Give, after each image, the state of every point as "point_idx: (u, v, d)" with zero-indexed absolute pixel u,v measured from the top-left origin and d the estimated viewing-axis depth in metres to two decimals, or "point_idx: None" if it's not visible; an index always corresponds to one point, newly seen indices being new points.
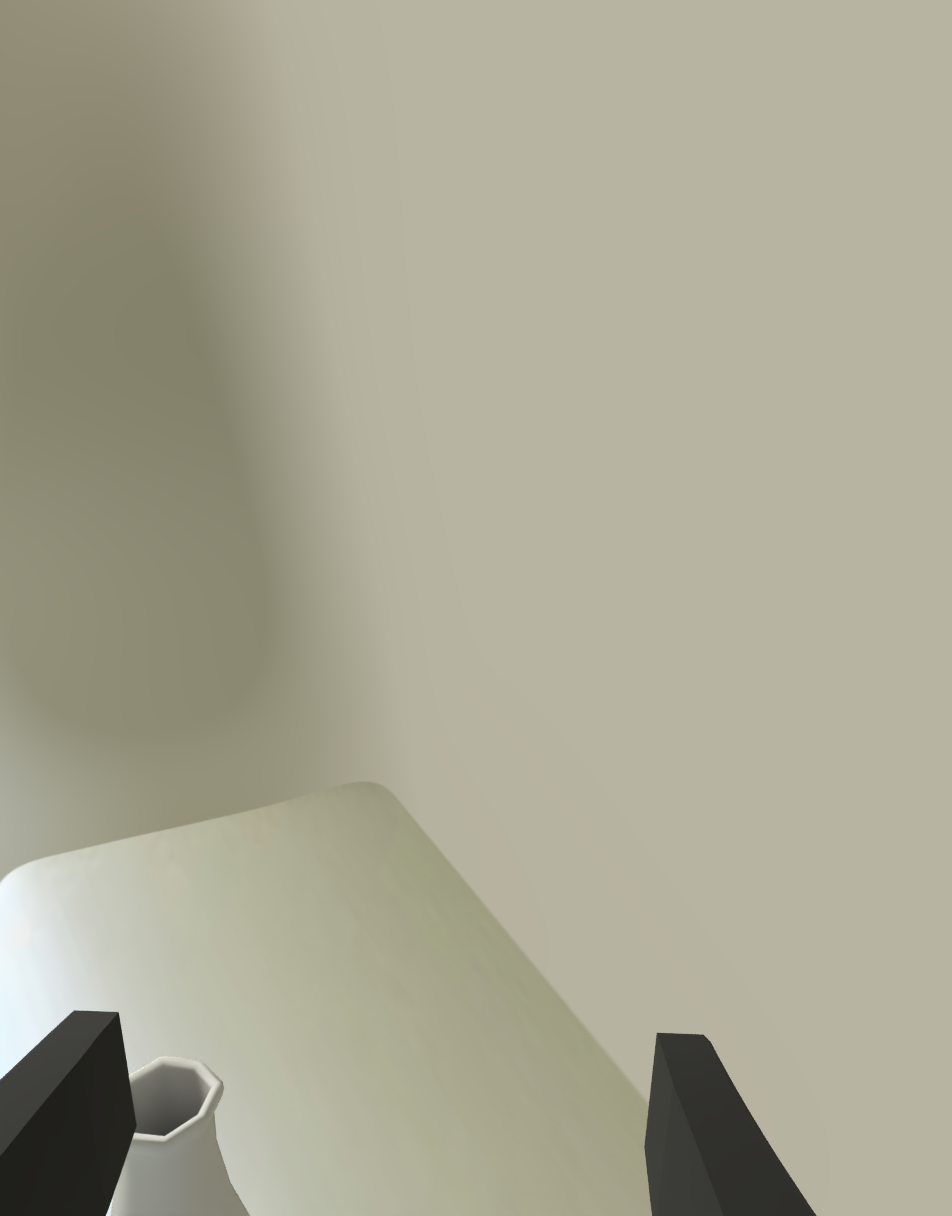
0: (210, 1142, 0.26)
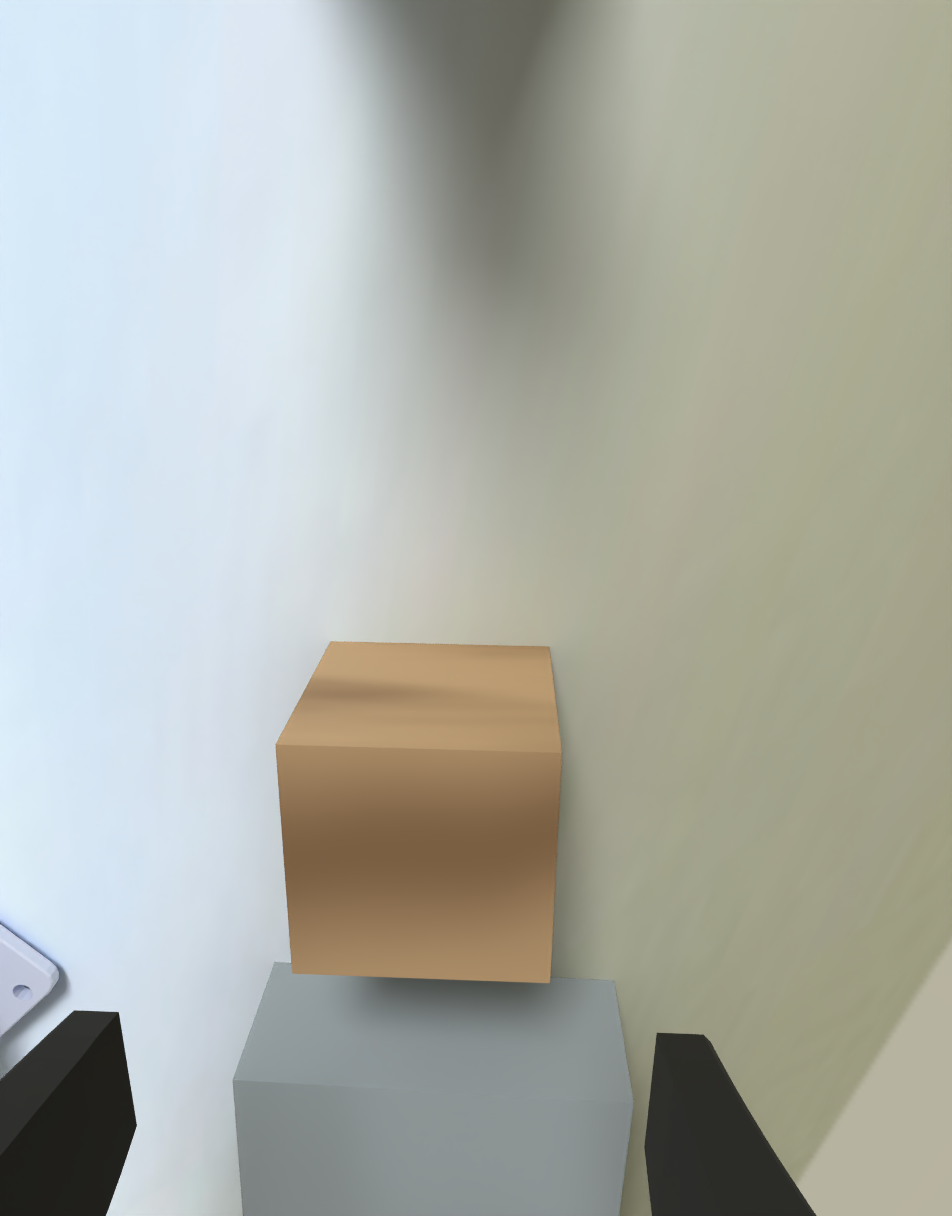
0: None
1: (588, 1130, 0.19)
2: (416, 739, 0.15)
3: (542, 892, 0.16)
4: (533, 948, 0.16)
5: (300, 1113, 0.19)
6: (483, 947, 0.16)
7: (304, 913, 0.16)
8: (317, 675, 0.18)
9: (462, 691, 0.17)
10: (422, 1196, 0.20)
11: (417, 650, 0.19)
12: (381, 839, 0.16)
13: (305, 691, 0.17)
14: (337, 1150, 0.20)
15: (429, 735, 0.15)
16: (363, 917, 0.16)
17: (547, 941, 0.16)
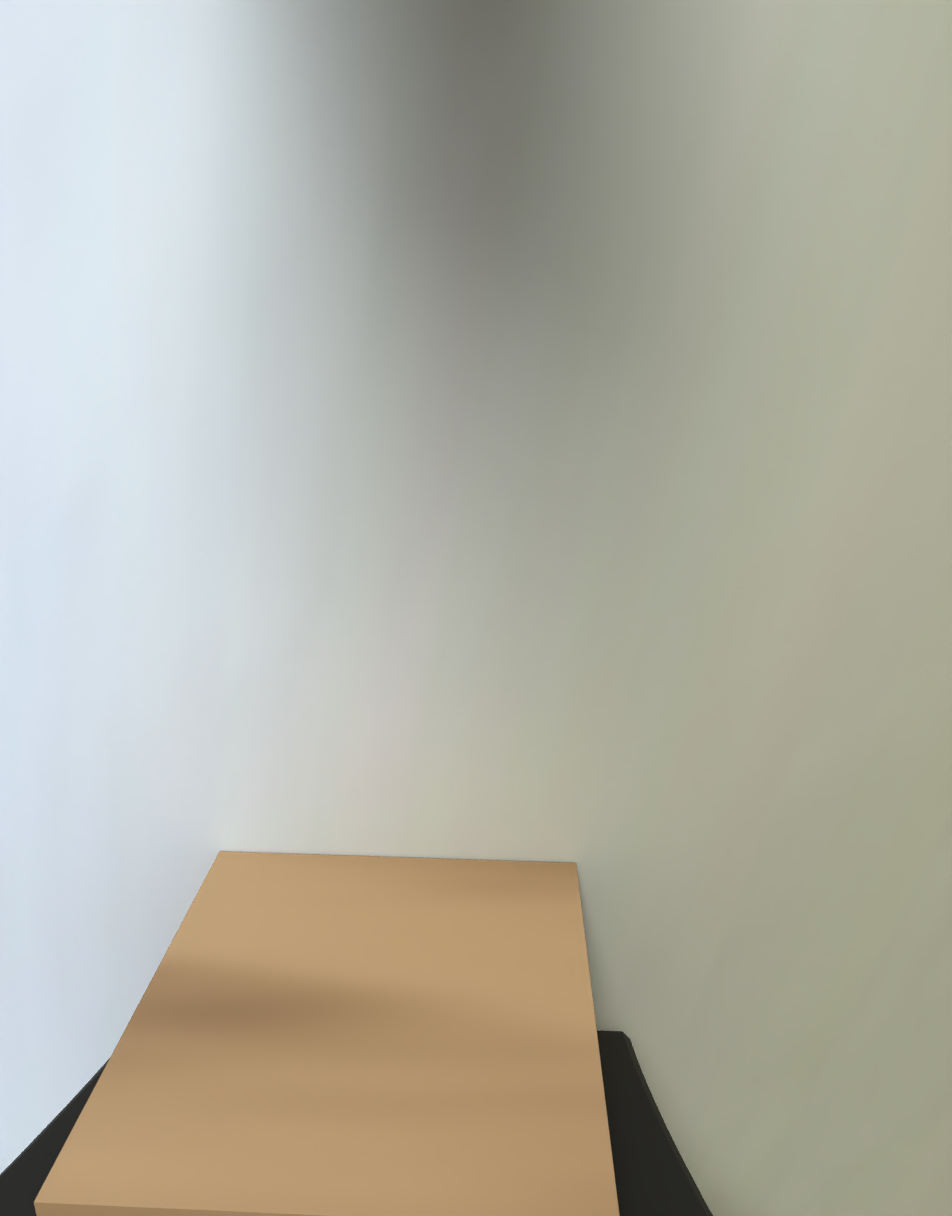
0: None
1: None
2: (327, 1180, 0.08)
3: None
4: None
5: None
6: None
7: None
8: (174, 953, 0.10)
9: (426, 1000, 0.09)
10: None
11: (358, 879, 0.11)
12: None
13: (141, 1003, 0.09)
14: None
15: (352, 1161, 0.08)
16: None
17: None
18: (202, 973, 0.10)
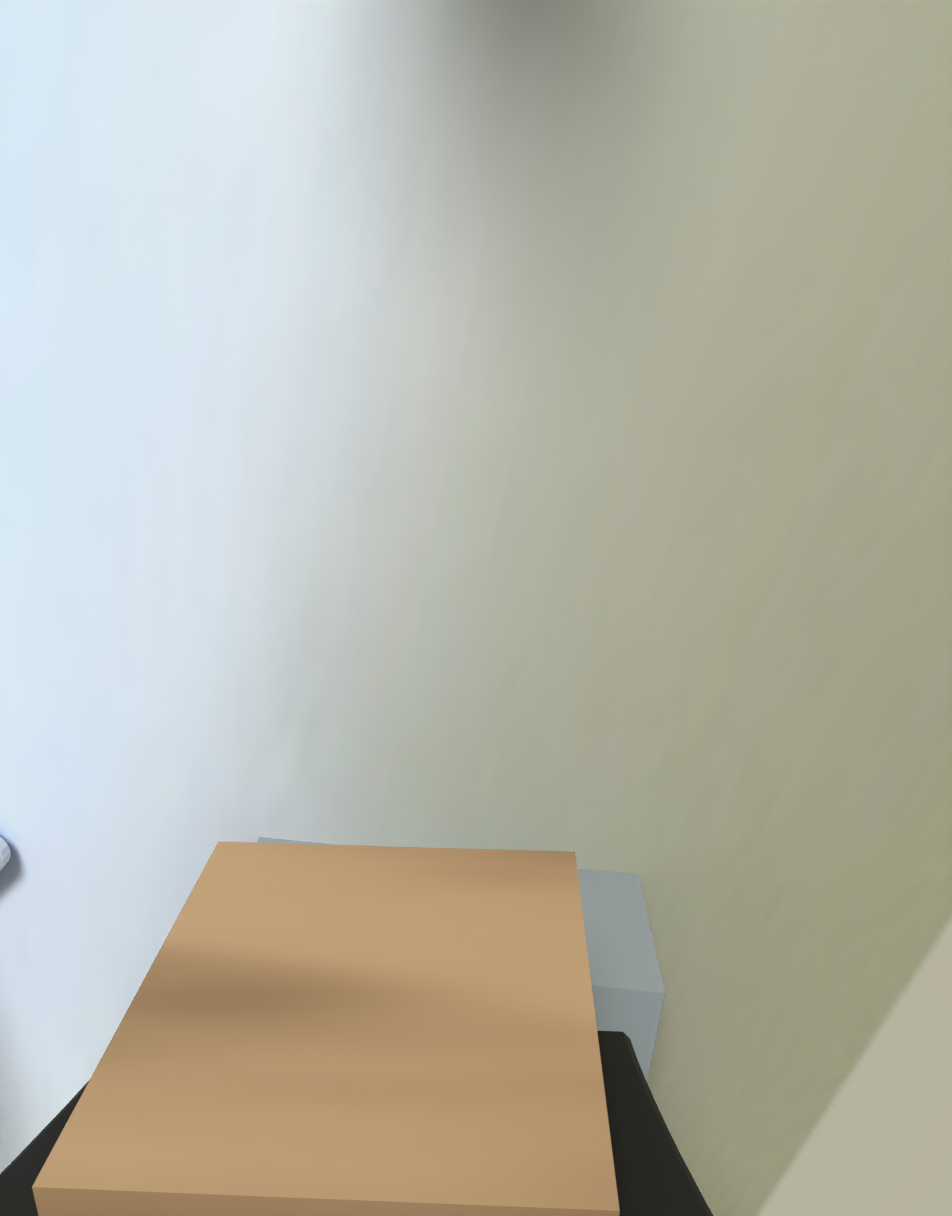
0: None
1: (611, 1023, 0.17)
2: (325, 1164, 0.08)
3: None
4: None
5: None
6: None
7: None
8: (173, 941, 0.10)
9: (424, 987, 0.09)
10: None
11: (357, 868, 0.11)
12: None
13: (140, 991, 0.09)
14: None
15: (351, 1145, 0.08)
16: None
17: None
18: (201, 961, 0.10)
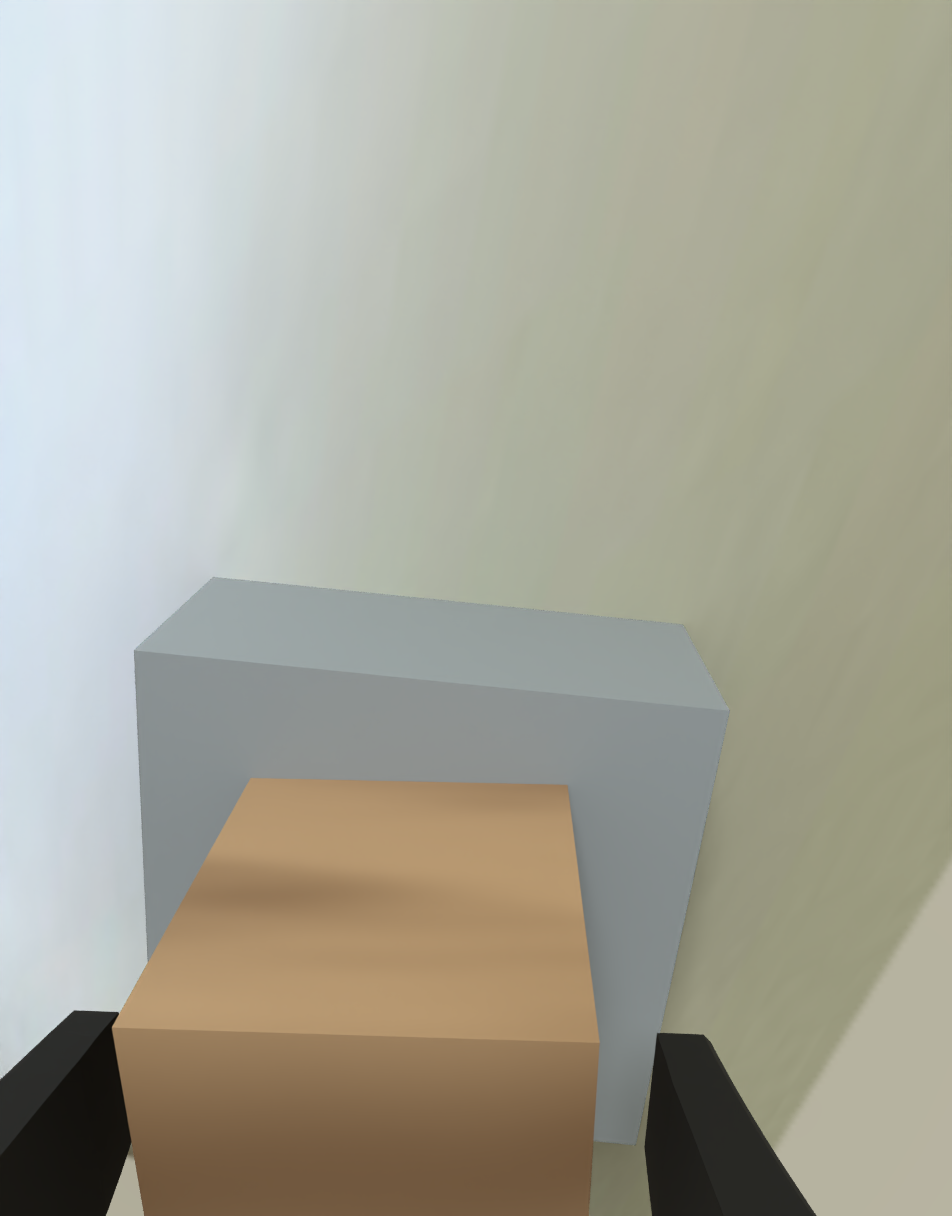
0: None
1: (657, 756, 0.13)
2: (354, 1011, 0.09)
3: None
4: None
5: (234, 713, 0.13)
6: None
7: None
8: (216, 853, 0.12)
9: (435, 886, 0.11)
10: None
11: (374, 798, 0.13)
12: (298, 1167, 0.09)
13: (190, 890, 0.11)
14: None
15: (376, 999, 0.09)
16: None
17: None
18: (241, 868, 0.11)
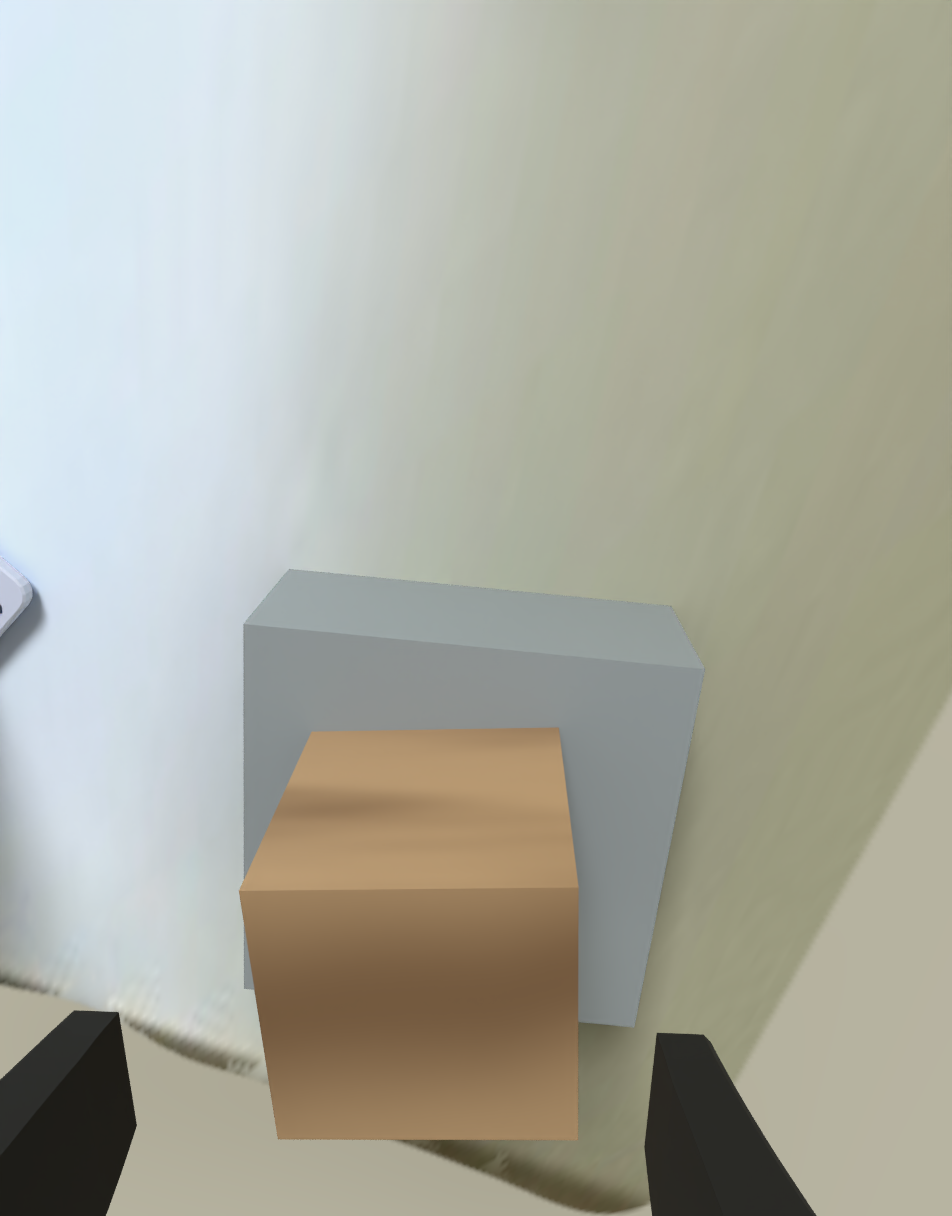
0: None
1: (649, 706, 0.17)
2: (406, 875, 0.13)
3: (563, 1042, 0.13)
4: (556, 1103, 0.14)
5: (320, 673, 0.17)
6: (497, 1104, 0.14)
7: (287, 1074, 0.14)
8: (293, 783, 0.15)
9: (459, 798, 0.15)
10: None
11: (408, 742, 0.17)
12: (370, 991, 0.13)
13: (278, 808, 0.15)
14: (358, 726, 0.17)
15: (420, 868, 0.13)
16: (356, 1076, 0.14)
17: (572, 1095, 0.14)
18: (313, 792, 0.15)
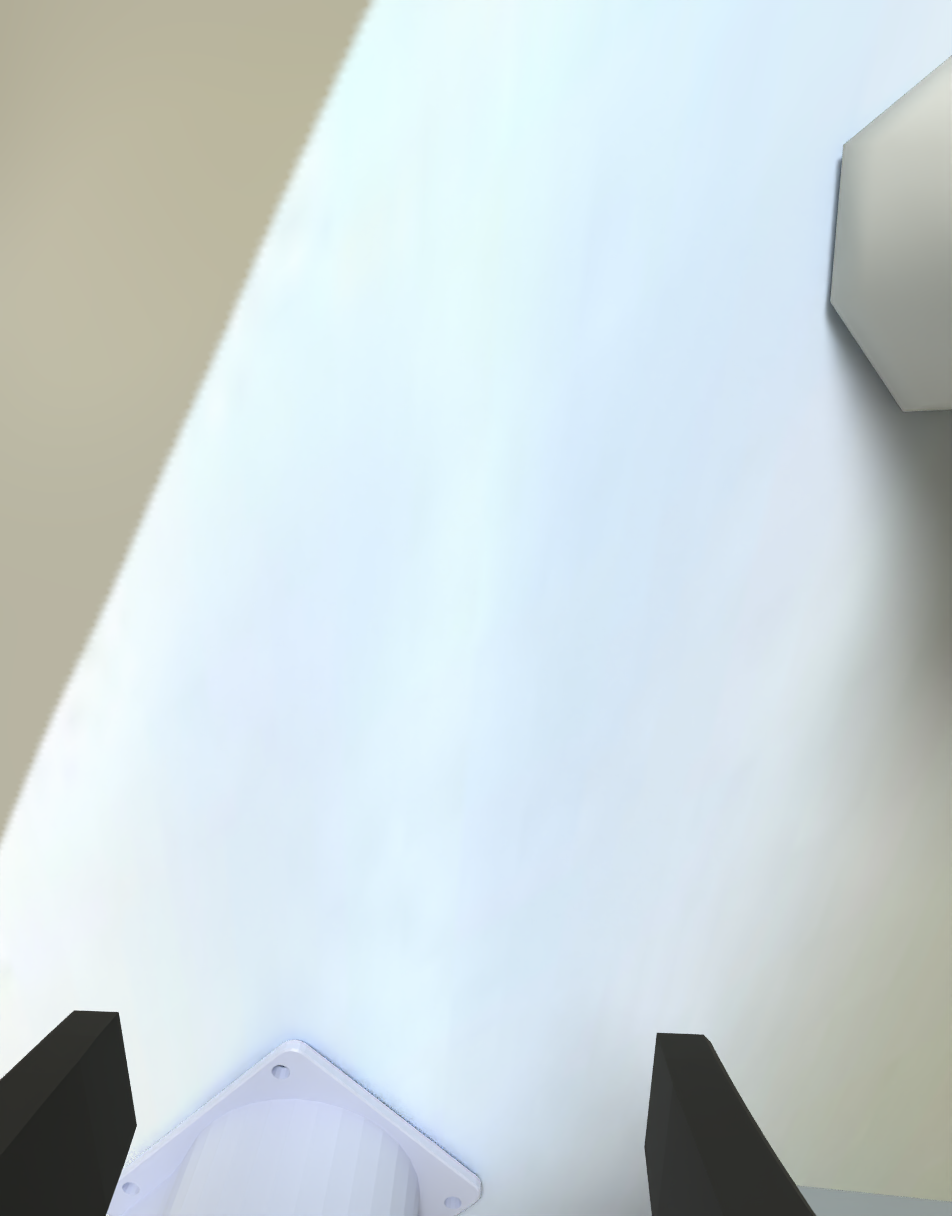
0: None
1: None
2: None
3: None
4: None
5: None
6: None
7: None
8: None
9: None
10: None
11: None
12: None
13: None
14: None
15: None
16: None
17: None
18: None
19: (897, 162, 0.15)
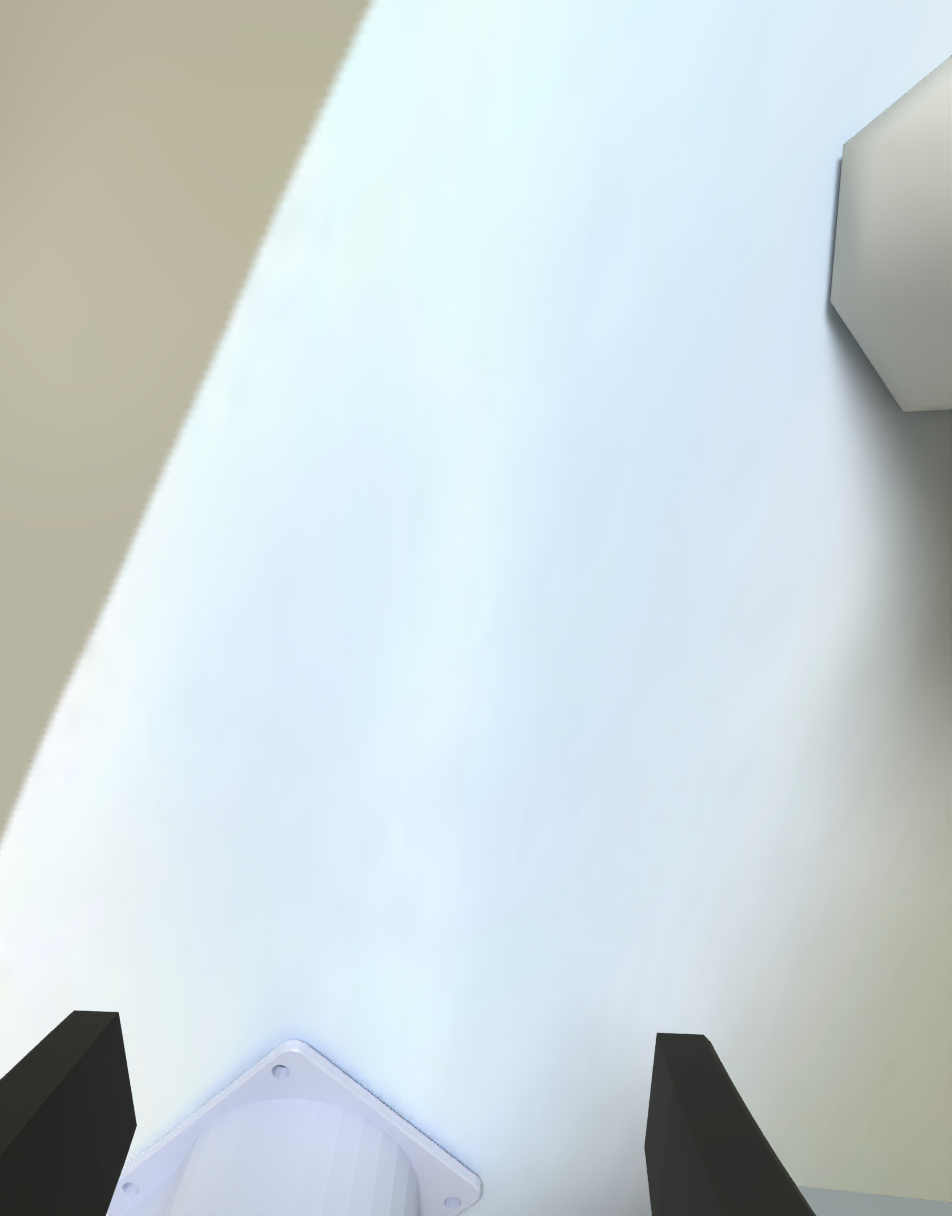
0: None
1: None
2: None
3: None
4: None
5: None
6: None
7: None
8: None
9: None
10: None
11: None
12: None
13: None
14: None
15: None
16: None
17: None
18: None
19: (897, 161, 0.15)
